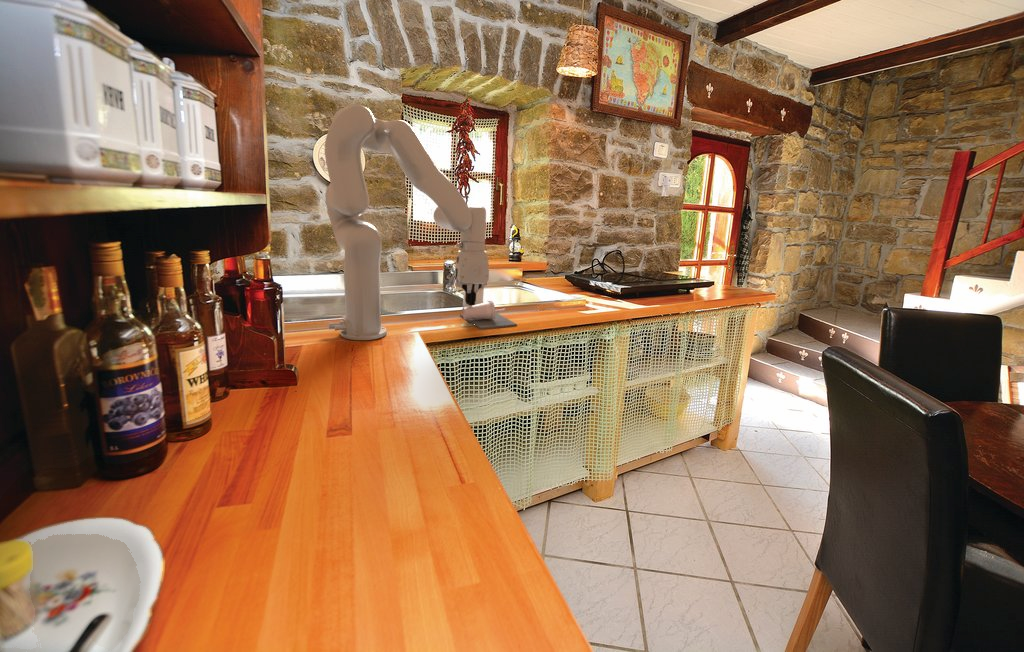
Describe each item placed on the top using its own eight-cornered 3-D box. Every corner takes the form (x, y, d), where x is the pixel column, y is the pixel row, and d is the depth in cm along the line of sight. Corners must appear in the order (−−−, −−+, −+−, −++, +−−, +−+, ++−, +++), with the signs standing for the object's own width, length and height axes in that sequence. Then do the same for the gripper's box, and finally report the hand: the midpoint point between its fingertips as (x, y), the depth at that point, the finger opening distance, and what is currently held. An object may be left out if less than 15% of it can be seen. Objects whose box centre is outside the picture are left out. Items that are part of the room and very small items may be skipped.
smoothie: (467, 311, 149) (509, 306, 155) (461, 299, 154) (501, 295, 159) (466, 327, 153) (506, 321, 158) (460, 315, 158) (499, 310, 163)
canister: (467, 314, 164) (468, 286, 162) (458, 309, 170) (459, 281, 168) (486, 313, 168) (488, 285, 165) (477, 308, 174) (478, 280, 171)
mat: (480, 329, 148) (480, 327, 148) (460, 316, 162) (460, 314, 161) (516, 325, 155) (517, 324, 154) (494, 313, 168) (494, 311, 168)
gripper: (454, 248, 141) (453, 308, 147) (499, 248, 149) (496, 305, 154) (445, 245, 148) (444, 303, 153) (488, 245, 155) (486, 300, 160)
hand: (470, 304), depth 153 cm, fingers closed
